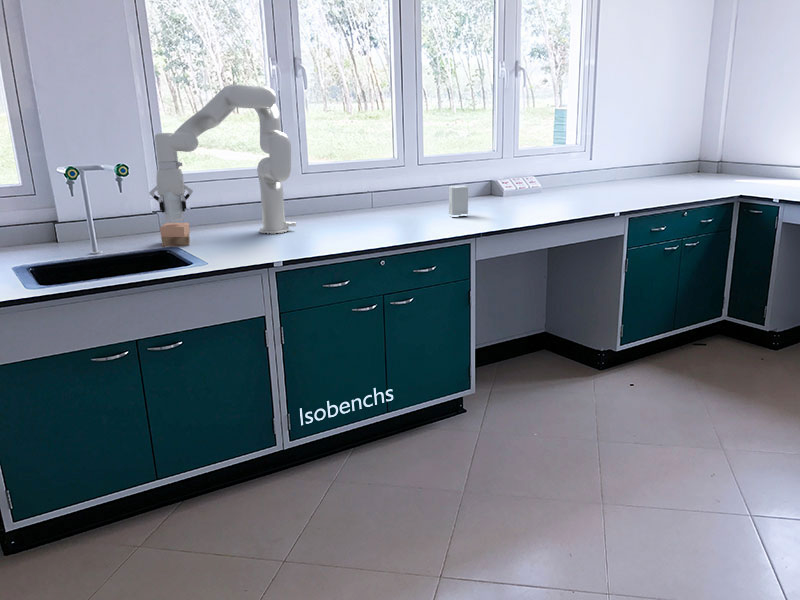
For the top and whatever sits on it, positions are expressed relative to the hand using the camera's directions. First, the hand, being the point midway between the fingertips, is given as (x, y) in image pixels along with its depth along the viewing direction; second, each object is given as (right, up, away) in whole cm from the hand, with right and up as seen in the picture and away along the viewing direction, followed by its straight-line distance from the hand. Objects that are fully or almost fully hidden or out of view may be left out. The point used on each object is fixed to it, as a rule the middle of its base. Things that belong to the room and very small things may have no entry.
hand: (173, 211), depth 258 cm
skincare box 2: (+118, +5, +59) cm, 132 cm away
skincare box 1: (0, -4, +1) cm, 4 cm away
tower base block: (0, -13, +4) cm, 13 cm away
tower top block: (0, -9, +3) cm, 9 cm away
